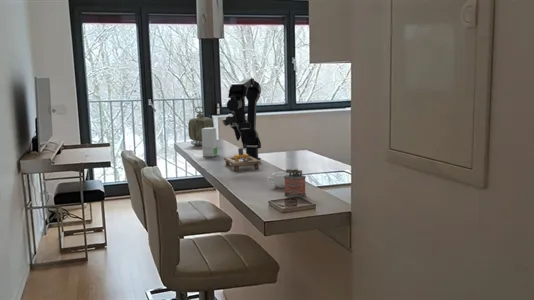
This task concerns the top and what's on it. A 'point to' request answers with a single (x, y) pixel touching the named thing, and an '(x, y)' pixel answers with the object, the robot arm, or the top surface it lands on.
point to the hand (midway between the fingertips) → (240, 141)
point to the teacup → (278, 179)
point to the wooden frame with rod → (252, 161)
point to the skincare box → (209, 142)
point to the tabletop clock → (199, 126)
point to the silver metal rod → (243, 159)
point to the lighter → (294, 183)
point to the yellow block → (240, 155)
